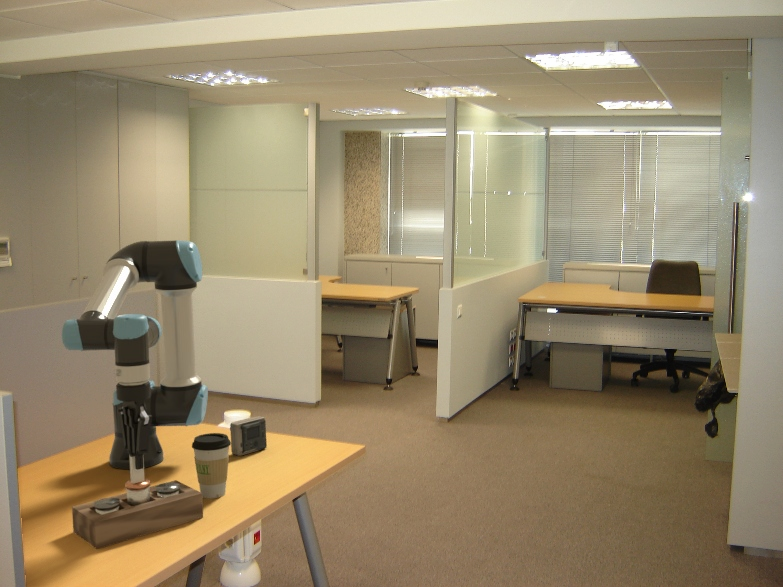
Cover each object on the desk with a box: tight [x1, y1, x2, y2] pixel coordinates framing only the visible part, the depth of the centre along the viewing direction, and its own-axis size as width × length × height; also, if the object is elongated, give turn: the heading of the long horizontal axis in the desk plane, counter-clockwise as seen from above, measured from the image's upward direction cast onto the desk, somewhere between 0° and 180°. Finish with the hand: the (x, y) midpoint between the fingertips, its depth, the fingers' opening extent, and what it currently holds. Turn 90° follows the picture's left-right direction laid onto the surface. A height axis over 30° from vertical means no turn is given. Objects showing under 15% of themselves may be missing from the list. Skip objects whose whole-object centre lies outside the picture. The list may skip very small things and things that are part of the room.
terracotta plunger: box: [124, 478, 151, 506], centre depth 189 cm, size 6×6×7 cm
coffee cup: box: [191, 432, 231, 499], centre depth 209 cm, size 10×10×15 cm
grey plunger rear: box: [156, 481, 180, 498], centre depth 194 cm, size 6×6×7 cm
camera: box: [229, 415, 268, 457], centre depth 245 cm, size 11×6×10 cm, turn 136°
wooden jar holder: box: [71, 479, 204, 550], centre depth 189 cm, size 13×26×6 cm, turn 133°
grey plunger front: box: [94, 497, 120, 515], centre depth 184 cm, size 6×6×7 cm
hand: (137, 481), depth 188 cm, fingers closed
